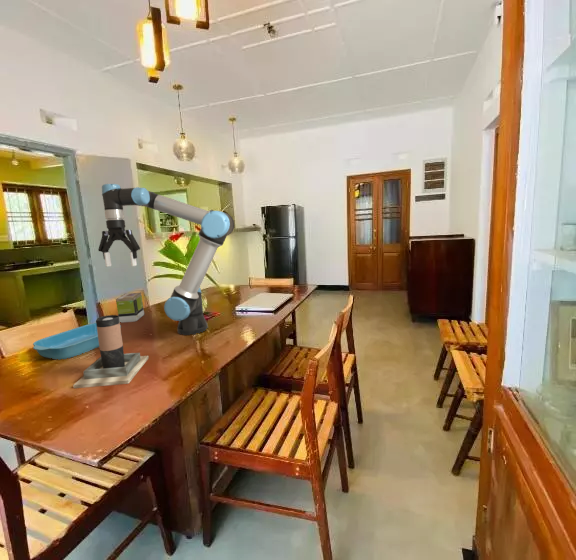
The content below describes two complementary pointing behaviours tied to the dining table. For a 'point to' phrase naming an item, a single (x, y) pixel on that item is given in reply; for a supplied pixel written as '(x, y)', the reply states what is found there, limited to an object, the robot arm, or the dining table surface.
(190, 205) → the robot arm
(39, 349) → the casserole dish
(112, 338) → the travel mug
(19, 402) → the dining table surface
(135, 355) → the docking board
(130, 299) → the tea box
